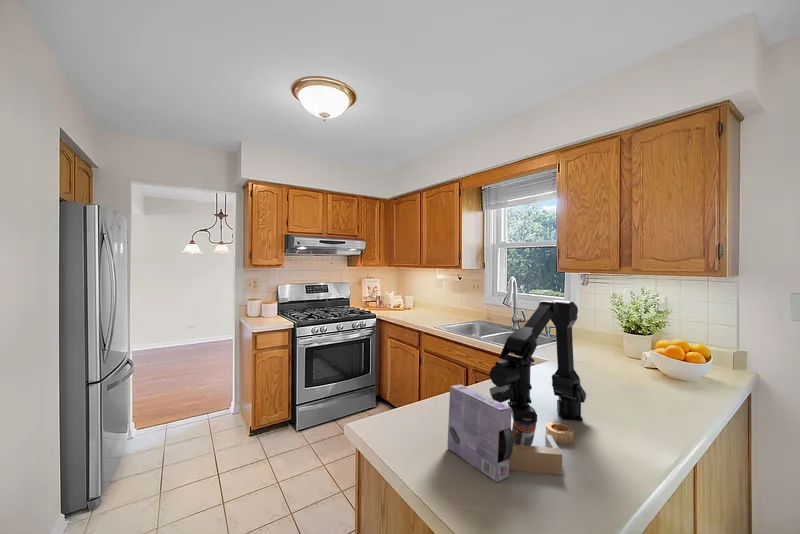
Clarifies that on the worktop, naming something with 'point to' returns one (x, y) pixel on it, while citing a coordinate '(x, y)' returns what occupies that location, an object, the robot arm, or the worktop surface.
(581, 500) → the worktop surface
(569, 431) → the wooden octagonal ring
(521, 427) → the supplement bottle
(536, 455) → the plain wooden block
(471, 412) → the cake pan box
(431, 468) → the worktop surface
